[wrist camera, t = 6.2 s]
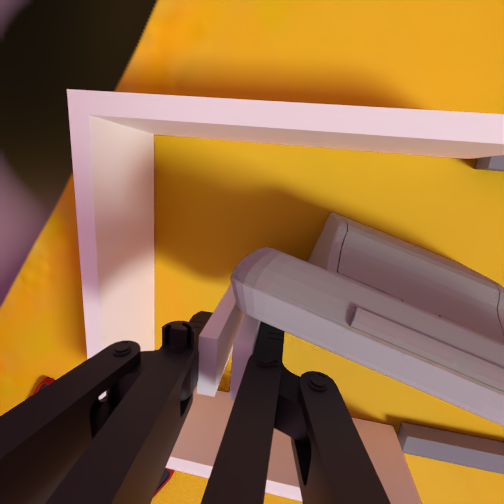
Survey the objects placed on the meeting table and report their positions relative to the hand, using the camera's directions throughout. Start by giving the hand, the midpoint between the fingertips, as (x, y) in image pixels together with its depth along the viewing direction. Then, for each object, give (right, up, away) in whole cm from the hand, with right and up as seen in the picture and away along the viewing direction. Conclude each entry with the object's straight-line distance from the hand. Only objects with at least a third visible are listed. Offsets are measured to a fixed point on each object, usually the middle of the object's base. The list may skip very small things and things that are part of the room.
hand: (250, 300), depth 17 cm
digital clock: (+8, 0, +2) cm, 8 cm away
